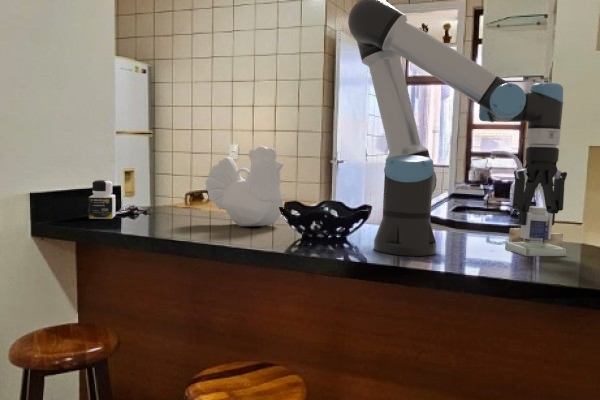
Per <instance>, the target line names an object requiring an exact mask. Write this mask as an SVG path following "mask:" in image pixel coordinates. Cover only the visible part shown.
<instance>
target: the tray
mask: <svg viewBox="0 0 600 400" xmlns="http://www.w3.org/2000/svg"><path fill="white" fill-rule="evenodd" d="M504 250H507V251H510V252H512V253H515V254H518V255H522V256H525V257H566V254H567V248H565V247H563V246H562V247H558V246H554V245H551V244H546V246H530V245H526V244H524V242H509V241H507V242H505V243H504Z"/></svg>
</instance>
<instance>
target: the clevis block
mask: <svg viewBox="0 0 600 400" xmlns="http://www.w3.org/2000/svg"><path fill="white" fill-rule="evenodd" d="M520 231H521V227H517V228H516V227H514V228H512V227H511V228H509V232H508V234H509V235H508V242H524V238H522V237H520ZM563 236H564V233H561V232H551V239H547V244H551V245H554V246H558V247H562V248H563V240H564V238H563Z"/></svg>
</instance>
